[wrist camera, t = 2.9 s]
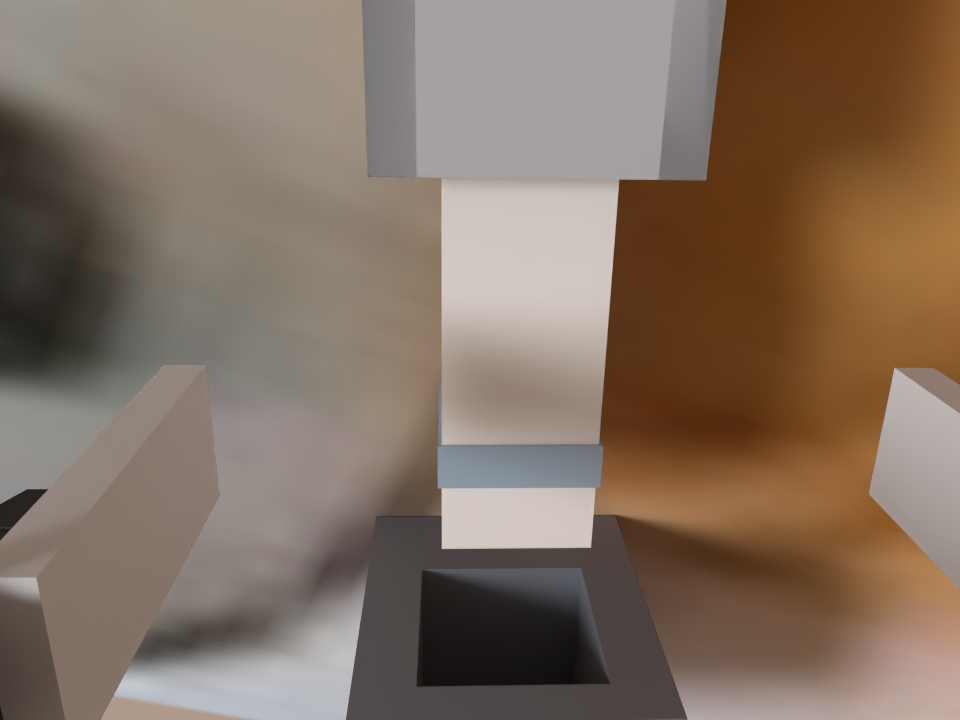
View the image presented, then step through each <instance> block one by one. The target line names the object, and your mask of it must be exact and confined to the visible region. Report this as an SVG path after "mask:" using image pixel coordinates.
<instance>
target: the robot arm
mask: <svg viewBox="0 0 960 720" xmlns="http://www.w3.org/2000/svg"><path fill="white" fill-rule="evenodd" d="M869 495H870V496H871V497H872V498H873V499H874V500H875V501H876V502H877V503H878V504H879V505H880V506H881V507H882V508H883V509H884V510H885V511H886V513H887V514H888V515H889V516H890V517H891V518H892V519H893V520H894V521H895V522H896V523H897V524H898V525H899V526H900V527H901V528H902V529H903V530H904V531H905V532H906V534H907V535H908V536H909V537H910V538H911V539H912V540H913V541H914V542H915V543H916V544H917V545H918V546H919V547H920V548H921V549H922V550H923V551H924V552H925V553H926V554H927V556H928V557H929V558H930V559H931V560H932V561H933V562H934V563H935V564H936V565H937V566H938V567H939V568H940V569H941V570H942V571H943V572H944V573H945V574H946V575H947V577H948V578H949V579H950V580H951V581H952V582H953V583H954V584H955V585H956V586H957V587H958V588H959V589H960V385H959V384H958V383H956V382H955V381H953V380H951V379H950V378H948V377H947V376H945V375H944V374H942V373H941V372H939V371H938V370H936V369H934V368H895V369H894V373H893V378H892V383H891V388H890V393H889V398H888V403H887V408H886V412H885V417H884V422H883V427H882V432H881V437H880V442H879V446H878V451H877V456H876V461H875V466H874V471H873V476H872V480H871V485H870V490H869ZM218 497H219V486H218V477H217V468H216V458H215V449H214V440H213V431H212V421H211V412H210V403H209V393H208V384H207V375H206V366H205V365H164V366H163V367H162V368H161V369H160V370H159V371H158V372H157V373H156V374H155V375H154V377H153V378H152V379H151V380H150V381H149V382H148V383H147V384H146V385H145V386H144V387H143V388H142V389H141V390H140V392H139V393H138V394H137V395H136V396H135V397H134V398H133V399H132V400H131V401H130V402H129V403H128V404H127V405H126V407H125V408H124V409H123V410H122V411H121V412H120V413H119V414H118V415H117V416H116V417H115V418H114V419H113V420H112V422H111V423H110V424H109V425H108V426H107V427H106V428H105V429H104V430H103V431H102V432H101V433H100V434H99V435H98V437H97V438H96V439H95V440H94V441H93V442H92V443H91V444H90V445H89V446H88V447H87V448H86V449H85V450H84V452H83V453H82V454H81V455H80V456H79V457H78V458H77V459H76V460H75V461H74V462H73V463H72V464H71V465H70V467H69V468H68V469H67V470H66V471H65V472H64V473H63V474H62V475H61V476H60V477H59V478H58V479H57V481H56V482H55V483H54V484H53V485H52V486H51V487H50V488H49V489H27V490H25V491H23V492H22V493H20V494H18V495H16V496H14V497H13V498H11V499H9V500H7V501H5V502H4V503H2V504H0V720H101V718H102V716H103V714H104V712H105V710H106V708H107V707H108V705H109V703H110V701H111V699H112V697H113V695H114V693H115V691H116V690H117V688H118V686H119V684H120V682H121V680H122V678H123V676H124V675H125V673H126V671H127V669H128V667H129V665H130V663H131V661H132V659H133V658H134V656H135V654H136V652H137V650H138V648H139V646H140V644H141V642H142V641H143V639H144V637H145V635H146V633H147V631H148V629H149V627H150V625H151V624H152V622H153V620H154V618H155V616H156V614H157V612H158V610H159V608H160V607H161V605H162V603H163V601H164V599H165V597H166V595H167V593H168V591H169V590H170V588H171V586H172V584H173V582H174V580H175V578H176V576H177V575H178V573H179V571H180V569H181V567H182V565H183V563H184V561H185V559H186V558H187V556H188V554H189V552H190V550H191V548H192V546H193V544H194V542H195V541H196V539H197V537H198V535H199V533H200V531H201V529H202V527H203V525H204V524H205V522H206V520H207V518H208V516H209V514H210V512H211V510H212V508H213V507H214V505H215V503H216V501H217V499H218Z"/></svg>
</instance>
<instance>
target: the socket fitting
mask: <svg viewBox="0 0 960 720" xmlns="http://www.w3.org/2000/svg"><path fill="white" fill-rule="evenodd" d="M346 720H687V716H686V714H685V711H684V708H683V705H682V702H681V700H680V697H679V694H678V691H677V688H676V686H675V683H674V680H673V677H672V674H671V671H670V669H669V666H668V663H667V660H666V657H665V655H664V652H663V649H662V646H661V643H660V641H659V638H658V635H657V632H656V629H655V626H654V624H653V621H652V618H651V615H650V612H649V610H648V607H647V604H646V601H645V598H644V596H643V593H642V590H641V587H640V584H639V581H638V579H637V576H636V573H635V570H634V567H633V565H632V562H631V559H630V556H629V553H628V551H627V548H626V545H625V542H624V539H623V536H622V534H621V531H620V528H619V525H618V522H617V520H616V517H615V515H593V528H592V541H591V548H490V549H442V516H426V517H376V522H375V528H374V535H373V542H372V549H371V555H370V562H369V569H368V575H367V582H366V589H365V596H364V602H363V609H362V616H361V622H360V629H359V636H358V643H357V649H356V656H355V663H354V670H353V676H352V683H351V690H350V696H349V703H348V710H347V717H346Z"/></svg>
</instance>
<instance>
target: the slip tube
mask: <svg viewBox="0 0 960 720" xmlns="http://www.w3.org/2000/svg"><path fill="white" fill-rule="evenodd" d="M618 190H619V179H530V178H442V382H439V413H438V488H442V549H490V548H591V541H592V528H593V515H594V502H595V489H596V488H600V484H601V471H602V459H603V444H602V441H601V438H600V424H601V411H602V398H603V385H604V372H605V359H606V346H607V333H608V320H609V307H610V294H611V281H612V268H613V255H614V242H615V229H616V216H617V203H618Z"/></svg>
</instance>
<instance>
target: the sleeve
mask: <svg viewBox="0 0 960 720" xmlns="http://www.w3.org/2000/svg"><path fill="white" fill-rule="evenodd" d="M726 2H727V0H362V16H363V47H364V77H365V108H366V138H367V169H368V177H438V178H530V179H623V180H706V176H707V167H708V159H709V150H710V141H711V133H712V124H713V115H714V106H715V98H716V89H717V80H718V72H719V63H720V54H721V46H722V37H723V28H724V20H725V11H726Z"/></svg>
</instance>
